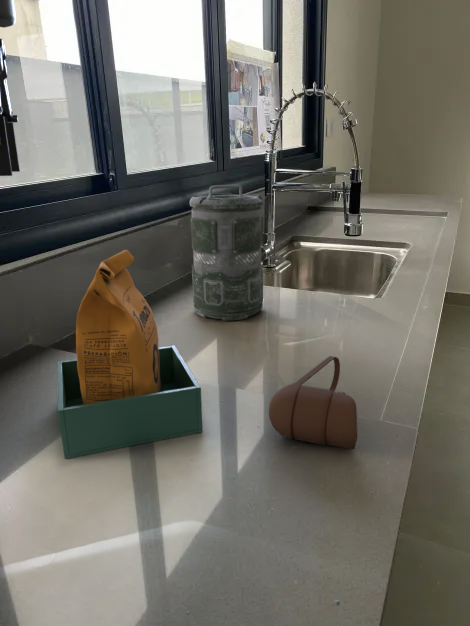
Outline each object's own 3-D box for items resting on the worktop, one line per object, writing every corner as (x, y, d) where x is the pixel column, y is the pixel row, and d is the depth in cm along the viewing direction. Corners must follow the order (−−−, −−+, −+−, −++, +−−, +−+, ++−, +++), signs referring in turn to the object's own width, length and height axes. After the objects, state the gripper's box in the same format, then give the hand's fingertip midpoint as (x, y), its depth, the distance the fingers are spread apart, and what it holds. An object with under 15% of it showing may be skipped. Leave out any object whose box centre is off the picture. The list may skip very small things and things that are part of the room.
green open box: (64, 459, 60) (57, 411, 58) (62, 402, 73) (57, 361, 71) (202, 432, 65) (200, 387, 63) (176, 383, 79) (174, 345, 76)
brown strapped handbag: (354, 464, 58) (358, 412, 56) (260, 444, 62) (260, 394, 60) (375, 396, 73) (379, 353, 71) (299, 383, 78) (300, 342, 76)
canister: (244, 297, 124) (243, 181, 115) (275, 315, 110) (277, 185, 101) (184, 306, 117) (178, 184, 108) (209, 326, 104) (205, 189, 95)
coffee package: (172, 393, 74) (164, 247, 67) (148, 438, 63) (135, 268, 56) (108, 390, 76) (94, 247, 69) (73, 434, 64) (51, 267, 57)
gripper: (1, -53, 47) (32, 177, 54) (18, 13, 70) (38, 169, 76) (-89, -62, 45) (-45, 179, 52) (-41, 8, 68) (-15, 170, 74)
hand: (5, 174), depth 64 cm, fingers open, 13 cm apart
